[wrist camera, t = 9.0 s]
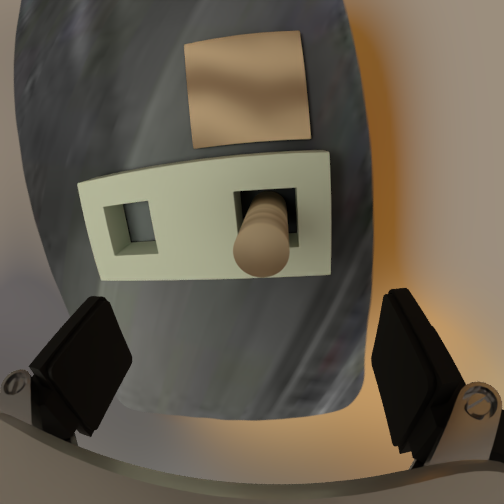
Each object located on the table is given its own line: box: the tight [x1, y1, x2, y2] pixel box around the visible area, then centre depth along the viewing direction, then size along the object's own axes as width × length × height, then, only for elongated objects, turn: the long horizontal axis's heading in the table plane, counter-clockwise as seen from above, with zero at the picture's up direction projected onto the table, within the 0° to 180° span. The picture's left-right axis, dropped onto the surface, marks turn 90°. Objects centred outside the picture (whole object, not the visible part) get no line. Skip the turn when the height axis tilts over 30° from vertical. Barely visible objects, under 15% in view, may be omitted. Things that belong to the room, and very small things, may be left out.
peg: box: [233, 191, 290, 278], centre depth 21 cm, size 3×3×10 cm
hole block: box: [78, 150, 331, 280], centre depth 25 cm, size 10×22×4 cm, turn 95°
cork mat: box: [184, 31, 311, 149], centre depth 21 cm, size 10×10×1 cm
